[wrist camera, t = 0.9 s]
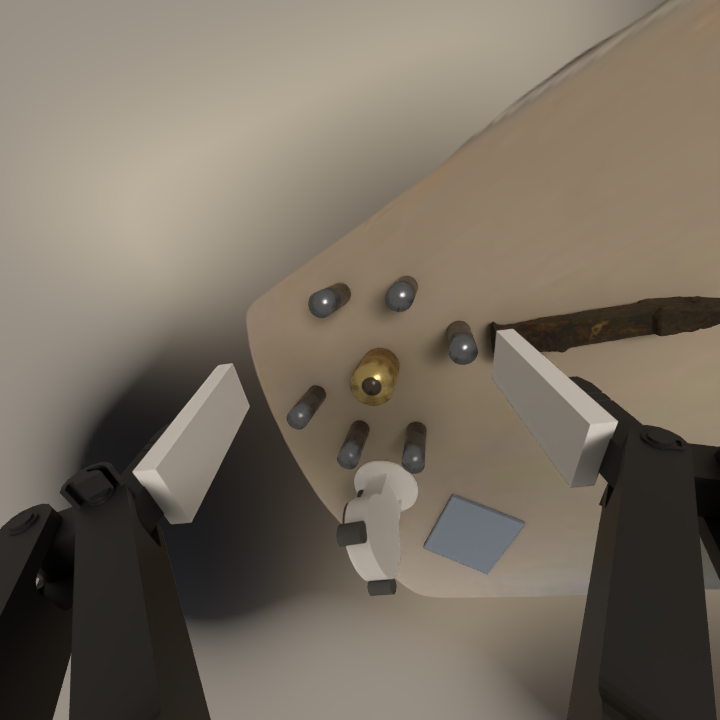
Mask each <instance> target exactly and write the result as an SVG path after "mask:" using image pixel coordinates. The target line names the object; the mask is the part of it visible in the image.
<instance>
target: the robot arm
mask: <svg viewBox="0 0 720 720" xmlns="http://www.w3.org/2000/svg"><path fill="white" fill-rule="evenodd" d="M492 379H493V381H494V382H495V384H496V385H497V386H498V388H499V389H500V391H501V392H502V393H503V395H504V396H505V397H506V399H507V400H508V402H509V403H510V404H511V406H512V407H513V409H514V410H515V411H516V413H517V414H518V416H519V417H520V418H521V420H522V421H523V422H524V424H525V425H526V427H527V428H528V429H529V431H530V432H531V434H532V435H533V436H534V438H535V439H536V441H537V442H538V443H539V445H540V446H541V447H542V449H543V450H544V452H545V453H546V454H547V456H548V457H549V459H550V460H551V461H552V463H553V464H554V465H555V467H556V468H557V470H558V471H559V472H560V474H561V475H562V477H563V478H564V479H565V481H566V482H567V484H568V485H569V486H570V488H571V487H582V486H593V485H595V482H596V480H597V477H598V474H599V473H600V474H601V475H602V476H603V477H604V479H605V480H606V481H607V482H608V484H607V486H606V489H605V491H604V494H603V496H602V499H601V501H600V504H599V505H601V506H602V512H601V518H600V524H599V530H598V535H597V541H596V547H595V553H594V559H593V565H592V571H591V577H590V583H589V589H588V595H587V601H586V608H585V613H584V619H583V625H582V632H581V637H580V643H579V649H578V655H577V661H576V668H575V673H574V679H573V685H572V691H571V696H570V702H569V708H568V714H567V720H717V718H716V708H715V697H714V686H713V677H712V665H711V654H710V643H709V633H708V622H707V611H706V601H705V590H704V579H703V568H702V558H701V547H700V537H701V539H702V541H703V544H704V546H705V548H706V550H707V553H708V555H709V557H710V559H711V561H712V564H713V566H714V568H715V570H716V573H717V575H718V577H719V579H720V447H715V446H706V445H698V444H689V443H687V442H686V441H685V440H684V439H683V438H681V437H680V436H678V435H676V434H674V433H673V432H671V431H668V430H665V429H663V428H660V427H655V426H649V425H642V424H641V423H640V422H639V421H637V420H636V419H635V418H634V417H633V416H631V415H630V414H629V413H628V412H626V411H625V410H624V409H623V408H621V407H620V406H619V405H618V404H617V403H615V402H614V401H613V400H612V401H611V399H610V398H609V397H608V396H607V395H606V394H604V393H602V391H601V390H599V389H598V388H597V387H596V386H595V385H593V384H592V383H590V382H588V381H586V380H584V379H582V378H580V377H577V376H576V377H567V376H566V375H565V374H564V373H562V372H561V371H560V370H559V369H558V368H557V367H556V366H555V365H553V364H552V363H551V362H550V361H549V360H548V359H547V358H545V357H544V356H543V355H542V354H541V353H540V352H539V351H537V350H536V349H535V348H534V347H533V346H532V345H531V344H530V343H528V342H527V341H526V340H525V339H524V338H523V337H522V336H520V335H519V334H518V333H517V332H516V331H515V330H514V329H507V330H499V331H497V332H496V342H495V352H494V363H493V373H492ZM249 407H250V406H249V404H248V401H247V399H246V396H245V393H244V391H243V388H242V386H241V383H240V381H239V378H238V376H237V373H236V371H235V368H234V366H233V364H224V365H218V366H217V367H216V369H215V370H214V371H213V372H212V373H211V375H210V376H209V377H208V378H207V380H206V381H205V382H204V383H203V385H202V386H201V387H200V388H199V390H198V391H197V392H196V393H195V395H194V396H193V397H192V399H191V400H190V401H189V402H188V403H187V405H186V406H185V407H184V408H183V409H182V411H181V412H180V413H179V414H178V416H177V417H176V418H175V419H174V421H173V422H172V423H168V424H167V425H166V426H164V427H163V428H162V429H160V430H159V431H158V432H156V434H155V435H154V436H153V437H152V438H151V440H150V441H149V444H147V445H146V446H145V447H144V448H143V449H142V452H140V453H139V454H138V455H137V456H136V458H135V459H134V460H133V461H132V462H131V464H130V465H129V466H128V467H127V468H126V470H125V471H124V472H123V473H122V474H121V476H120V475H119V474H118V473H117V472H116V470H115V469H114V467H113V466H112V465H111V464H110V463H108V462H101V463H96V464H94V465H91V466H88V467H86V468H85V469H83V470H81V471H79V472H78V473H76V474H75V475H74V476H72V477H71V478H70V479H68V481H67V482H66V483H65V484H64V485H63V486H62V488H61V491H60V493H61V494H62V496H63V497H65V499H66V500H67V501H68V502H69V503H70V504H71V505H72V506H73V507H71V508H68V509H66V510H62V511H60V512H56V511H55V510H54V509H53V508H52V507H51V506H50V505H49V504H40V505H36V506H33V507H31V508H29V509H27V510H24V511H22V512H21V513H19V514H18V515H16V516H14V517H13V518H11V519H10V521H8V522H7V523H6V524H5V525H4V526H2V528H1V529H0V720H52V719H53V716H54V712H55V708H56V705H57V701H58V698H59V694H60V691H61V688H62V684H63V680H64V677H65V673H66V670H67V666H68V663H69V659H70V656H71V682H70V709H69V720H211V719H210V715H209V711H208V707H207V704H206V700H205V696H204V692H203V688H202V684H201V680H200V676H199V673H198V669H197V665H196V661H195V657H194V654H193V649H192V645H191V641H190V638H189V634H188V630H187V626H186V622H185V619H184V615H183V610H182V607H181V603H180V599H179V595H178V591H177V587H176V584H175V580H174V576H173V572H172V568H171V564H170V560H169V556H168V553H167V549H166V545H165V541H164V537H163V533H162V530H161V528H160V527H159V526H158V522H159V521H160V519H161V517H162V515H163V514H164V515H165V517H166V518H167V520H168V521H169V522H170V524H178V523H189V522H192V519H193V518H194V516H195V514H196V512H197V510H198V508H199V506H200V504H201V502H202V500H203V498H204V496H205V494H206V492H207V490H208V488H209V486H210V484H211V482H212V480H213V478H214V476H215V474H216V472H217V470H218V468H219V466H220V464H221V462H222V460H223V458H224V456H225V454H226V453H227V451H228V449H229V447H230V445H231V443H232V440H233V439H234V437H235V435H236V433H237V431H238V429H239V427H240V424H241V423H242V421H243V419H244V417H245V415H246V413H247V411H248V409H249ZM699 535H700V536H699ZM36 578H39V582H38V584H37V586H36Z"/></svg>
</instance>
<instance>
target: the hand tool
mask: <svg viewBox="0 0 720 720" xmlns="http://www.w3.org/2000/svg"><path fill="white" fill-rule="evenodd" d="M718 324H720V298H707V297H699V296H696V297H671V298H654V299H645V300H641V301H638V302H637V303H635V304H629V305H623V306H616V307H609V308H603V309H597V310H588V311H583V312H579V313H574V314H567V315H559V316H553V317H544V318H539V319H536V320H530V321H527V322H521V323H516V324H509V325H498V324H496V323H494V322H492V323H491V343H492V349H493V353H494V352H495V342H496V332H497V331H499V330H507V329H514V330H515V331H516V332H517V333H518V334H519V335H520V336H522V337H523V338H524V339H525V340H526V341H527V342H528V343H530V344H531V345H532V346H533V347H534V348H535V349H536V350H537V351H539V352H551V351H555V352H556V351H558V352H562V353H563V352H565V351H566V350H568V349H569V348H571V347H577V346H582V345H588V344H595V343H601V342H606V341H614V340H619V339H624V338H630V337H636V336H642V335H651V334H656V335H659V336H667V335H674V334H678V333H681V332H693V331H696V330H699V329H700V328H701V329H706V328H710V327H712V326H715V325H718Z"/></svg>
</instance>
